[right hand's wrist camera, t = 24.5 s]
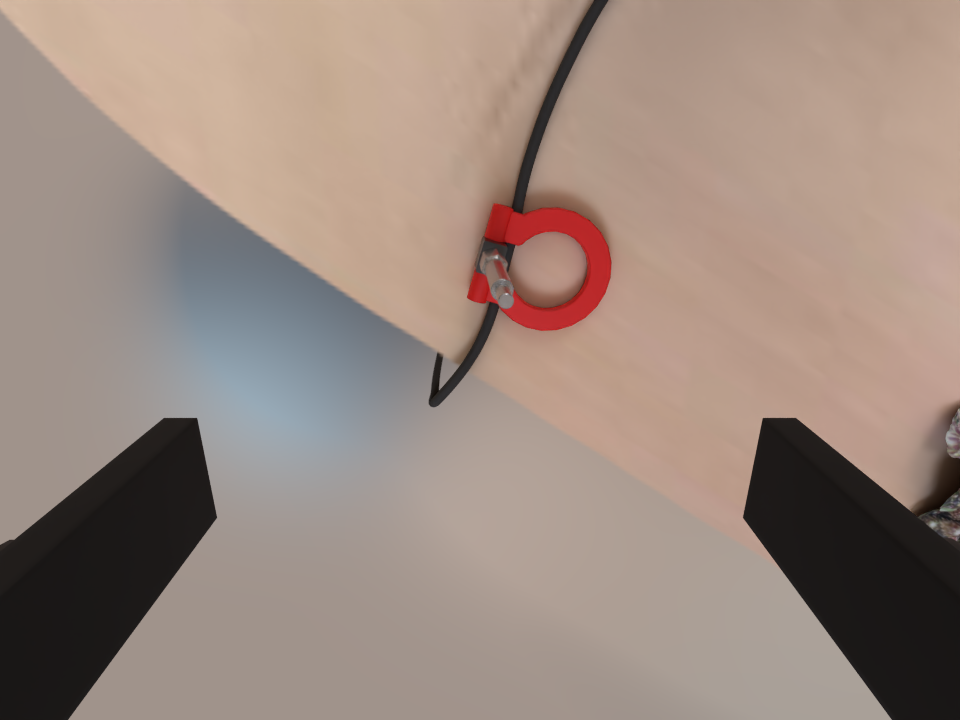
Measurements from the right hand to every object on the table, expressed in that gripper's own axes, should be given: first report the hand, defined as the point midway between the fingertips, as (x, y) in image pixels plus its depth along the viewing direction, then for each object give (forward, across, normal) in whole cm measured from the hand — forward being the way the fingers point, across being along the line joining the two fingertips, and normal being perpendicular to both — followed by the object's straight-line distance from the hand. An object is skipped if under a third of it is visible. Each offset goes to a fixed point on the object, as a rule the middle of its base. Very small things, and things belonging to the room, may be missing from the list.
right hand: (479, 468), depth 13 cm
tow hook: (+27, -4, 0) cm, 27 cm away
